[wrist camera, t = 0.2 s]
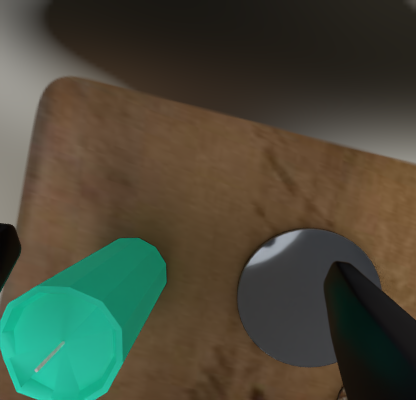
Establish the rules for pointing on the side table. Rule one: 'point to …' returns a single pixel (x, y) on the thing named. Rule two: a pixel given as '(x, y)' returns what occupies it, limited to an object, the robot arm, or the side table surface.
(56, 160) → the side table surface
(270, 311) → the slate coaster
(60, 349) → the candle
